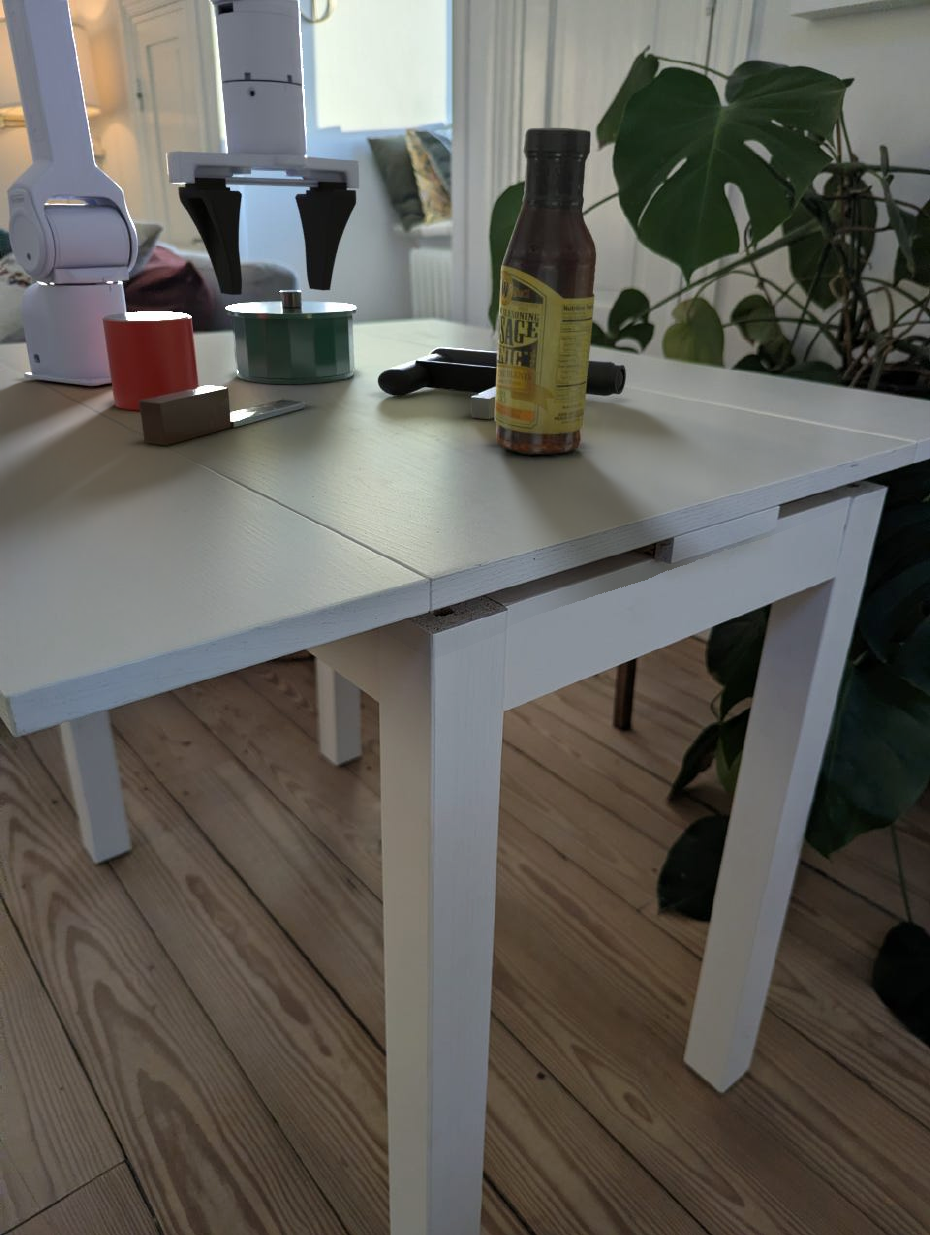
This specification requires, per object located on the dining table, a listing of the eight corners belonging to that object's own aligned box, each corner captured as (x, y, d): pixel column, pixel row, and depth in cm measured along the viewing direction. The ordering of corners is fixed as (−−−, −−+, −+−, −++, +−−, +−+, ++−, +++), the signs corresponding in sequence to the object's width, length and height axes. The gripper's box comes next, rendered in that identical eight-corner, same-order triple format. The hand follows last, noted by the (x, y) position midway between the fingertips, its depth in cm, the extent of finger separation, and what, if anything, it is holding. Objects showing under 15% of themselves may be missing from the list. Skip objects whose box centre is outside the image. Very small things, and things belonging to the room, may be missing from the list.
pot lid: (199, 320, 87) (196, 292, 86) (281, 310, 98) (279, 284, 96) (305, 328, 82) (304, 298, 81) (380, 316, 92) (379, 289, 91)
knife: (282, 405, 77) (280, 368, 76) (305, 407, 76) (303, 371, 75) (142, 442, 64) (136, 399, 63) (167, 446, 63) (162, 403, 62)
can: (96, 405, 76) (82, 317, 73) (157, 392, 82) (147, 310, 79) (158, 413, 73) (147, 322, 71) (217, 400, 79) (209, 314, 76)
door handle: (557, 396, 69) (632, 357, 81) (344, 373, 78) (441, 341, 90) (556, 439, 70) (630, 394, 83) (347, 411, 79) (443, 375, 92)
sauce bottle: (480, 441, 66) (486, 130, 58) (558, 435, 68) (574, 134, 60) (517, 462, 60) (528, 122, 52) (600, 455, 62) (624, 127, 54)
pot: (212, 377, 90) (206, 314, 87) (285, 362, 99) (281, 304, 97) (308, 388, 85) (304, 321, 82) (375, 371, 94) (373, 310, 92)
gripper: (190, 70, 57) (212, 300, 62) (380, 90, 65) (385, 291, 71) (144, 81, 62) (169, 293, 67) (327, 98, 70) (335, 285, 76)
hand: (277, 291), depth 69 cm, fingers open, 7 cm apart
